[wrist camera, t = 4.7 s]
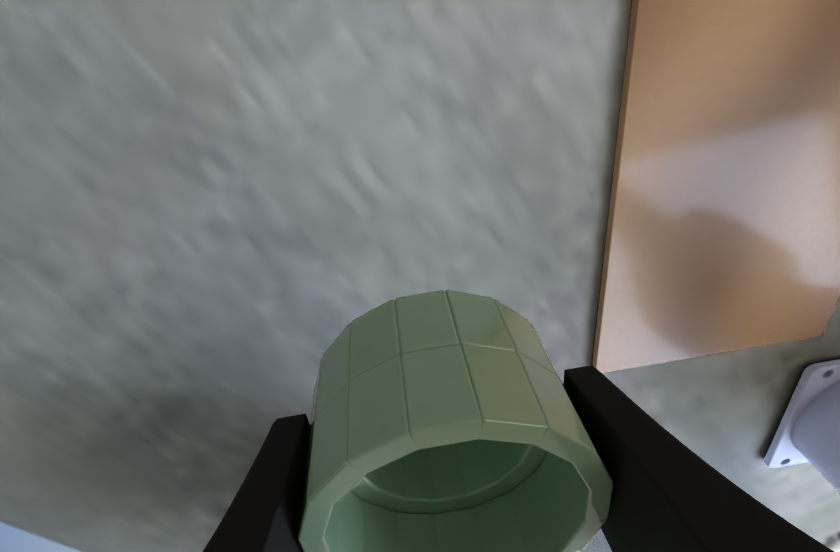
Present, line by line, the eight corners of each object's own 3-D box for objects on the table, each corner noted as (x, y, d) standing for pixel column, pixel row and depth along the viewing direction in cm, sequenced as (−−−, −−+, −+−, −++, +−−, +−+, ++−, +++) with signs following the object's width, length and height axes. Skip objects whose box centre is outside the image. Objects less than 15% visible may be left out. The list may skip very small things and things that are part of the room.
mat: (1088, -293, 12) (1111, -302, 11) (815, 331, 22) (822, 336, 22) (657, -238, 11) (666, -245, 11) (591, 369, 22) (594, 375, 22)
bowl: (541, 259, 10) (631, 394, 7) (537, 426, 13) (598, 578, 10) (291, 300, 10) (256, 459, 7) (344, 459, 13) (338, 625, 10)
